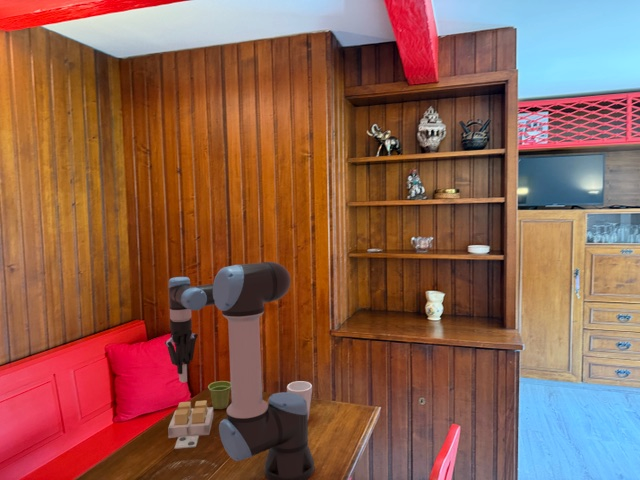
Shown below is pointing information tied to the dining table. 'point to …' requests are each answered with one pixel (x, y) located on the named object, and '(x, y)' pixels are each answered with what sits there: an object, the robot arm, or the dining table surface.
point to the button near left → (181, 417)
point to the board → (191, 426)
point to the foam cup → (301, 391)
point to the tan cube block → (185, 406)
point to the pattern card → (186, 442)
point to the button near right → (198, 415)
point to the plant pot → (220, 394)
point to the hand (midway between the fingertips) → (183, 381)
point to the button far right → (201, 405)
